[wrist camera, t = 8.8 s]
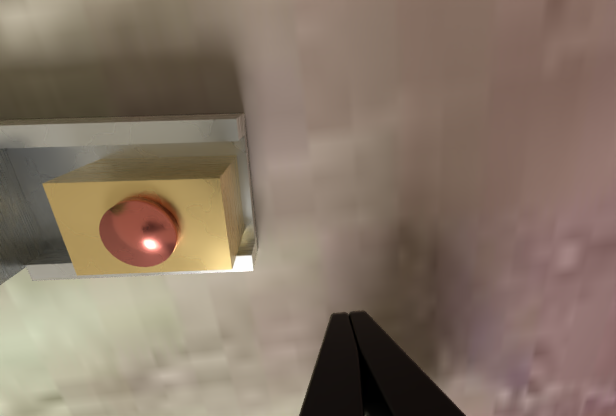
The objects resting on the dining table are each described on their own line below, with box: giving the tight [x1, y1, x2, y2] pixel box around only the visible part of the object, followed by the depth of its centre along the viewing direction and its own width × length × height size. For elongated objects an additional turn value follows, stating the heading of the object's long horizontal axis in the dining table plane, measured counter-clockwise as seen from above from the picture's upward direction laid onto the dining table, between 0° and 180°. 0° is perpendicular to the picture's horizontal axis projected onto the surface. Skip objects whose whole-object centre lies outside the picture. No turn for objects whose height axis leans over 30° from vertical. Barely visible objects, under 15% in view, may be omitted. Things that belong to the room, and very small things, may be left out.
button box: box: [42, 155, 245, 276], centre depth 15 cm, size 7×4×5 cm, turn 91°
